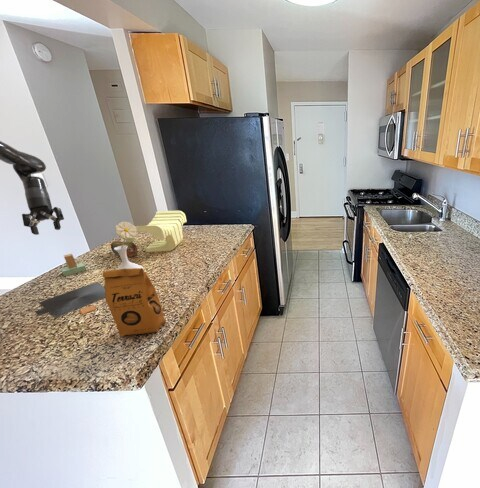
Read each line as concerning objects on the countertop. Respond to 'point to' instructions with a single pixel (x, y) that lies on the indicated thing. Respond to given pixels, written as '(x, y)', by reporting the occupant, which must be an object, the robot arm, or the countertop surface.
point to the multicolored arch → (130, 249)
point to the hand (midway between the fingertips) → (47, 231)
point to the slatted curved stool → (165, 230)
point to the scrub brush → (72, 266)
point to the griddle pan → (72, 300)
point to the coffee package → (133, 301)
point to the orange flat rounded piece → (88, 309)
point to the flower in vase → (126, 232)
